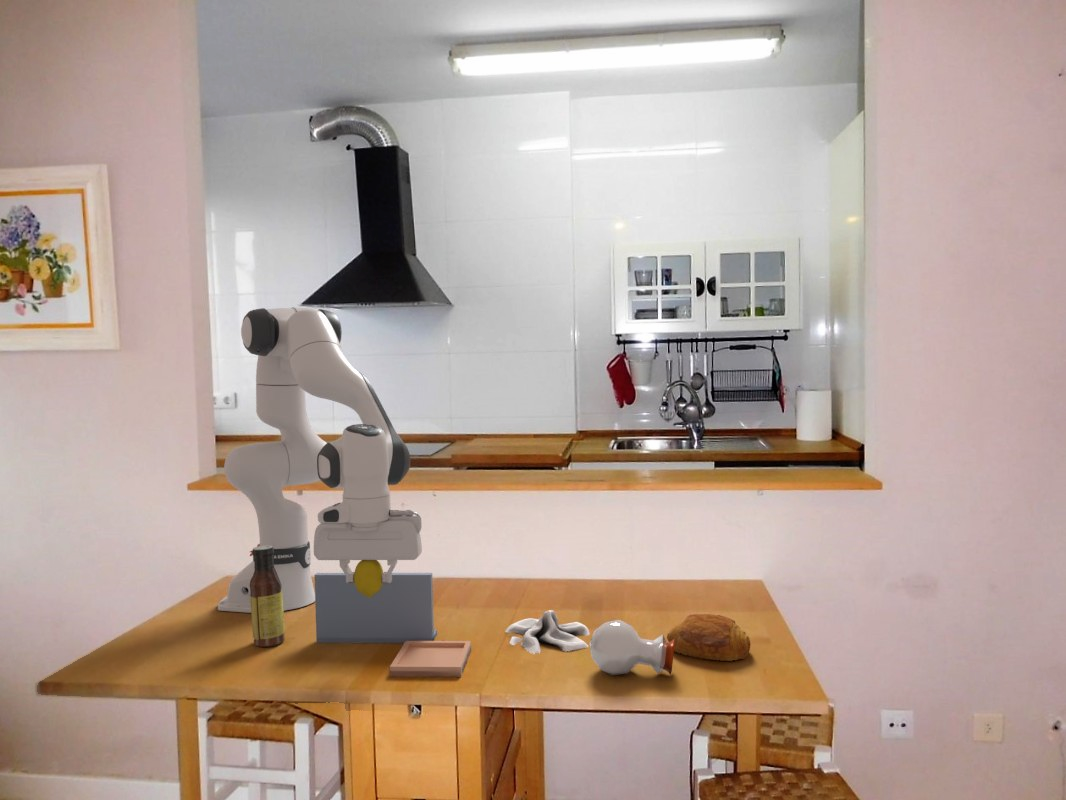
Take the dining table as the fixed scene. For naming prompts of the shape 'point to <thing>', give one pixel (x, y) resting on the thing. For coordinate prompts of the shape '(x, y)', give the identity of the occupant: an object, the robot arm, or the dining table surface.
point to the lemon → (368, 577)
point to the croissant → (710, 638)
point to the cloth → (548, 633)
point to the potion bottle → (628, 649)
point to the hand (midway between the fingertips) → (369, 582)
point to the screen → (374, 610)
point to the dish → (431, 659)
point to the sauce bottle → (266, 600)
